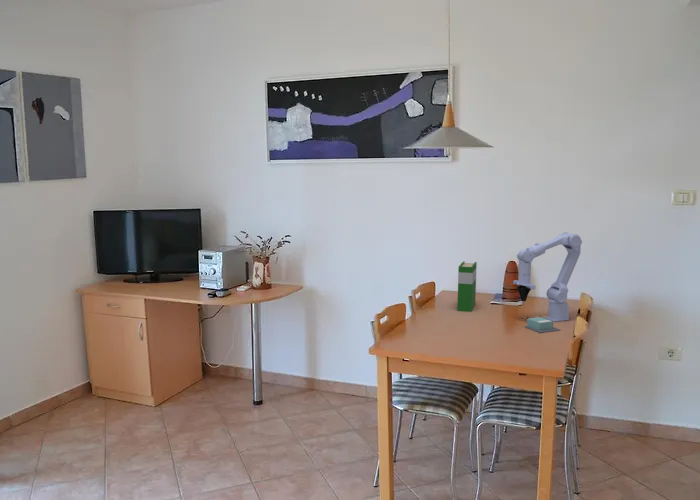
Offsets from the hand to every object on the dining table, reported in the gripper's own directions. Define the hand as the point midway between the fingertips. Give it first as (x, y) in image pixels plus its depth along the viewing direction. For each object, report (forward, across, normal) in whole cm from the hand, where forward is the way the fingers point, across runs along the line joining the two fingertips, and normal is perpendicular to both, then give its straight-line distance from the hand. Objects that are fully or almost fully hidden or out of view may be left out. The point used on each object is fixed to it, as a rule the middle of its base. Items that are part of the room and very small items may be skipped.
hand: (523, 300), depth 301 cm
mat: (+10, +15, 0) cm, 18 cm away
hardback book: (+11, -35, -10) cm, 38 cm away
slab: (+8, +8, 0) cm, 12 cm away
